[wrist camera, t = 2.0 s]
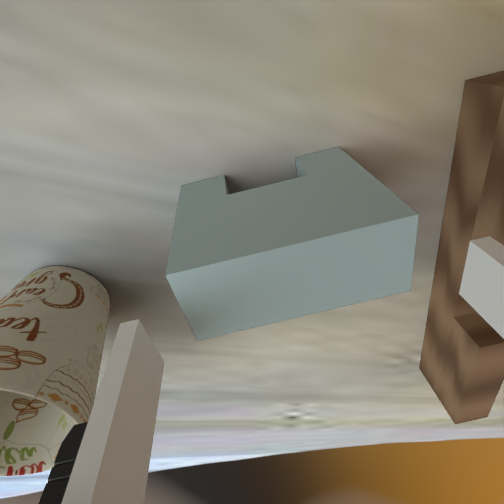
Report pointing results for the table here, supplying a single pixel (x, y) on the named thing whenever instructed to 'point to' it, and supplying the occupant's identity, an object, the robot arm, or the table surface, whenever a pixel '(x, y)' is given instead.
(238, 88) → the table surface
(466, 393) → the walnut rail
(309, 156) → the blue-grey notched block
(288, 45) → the table surface
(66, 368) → the mug
